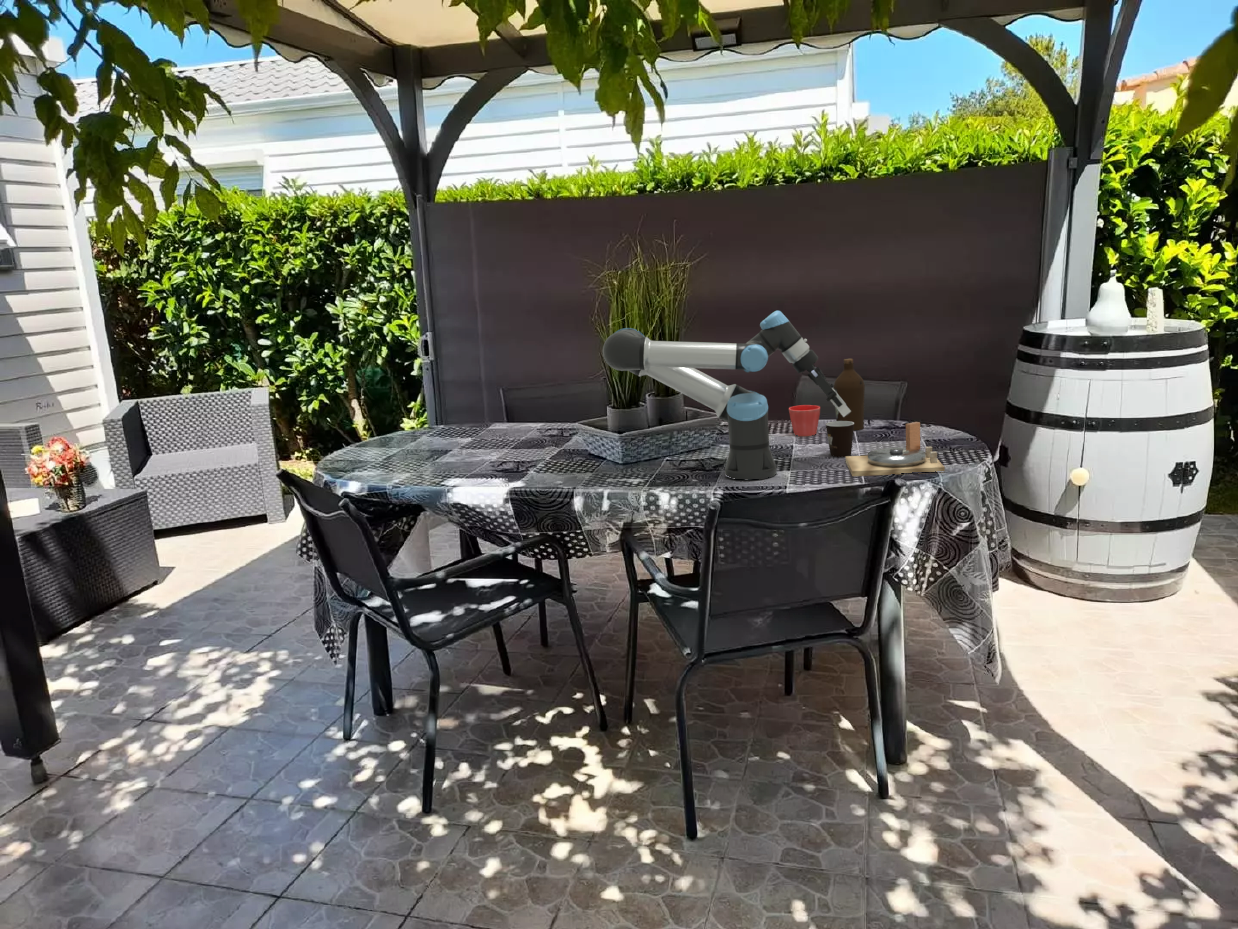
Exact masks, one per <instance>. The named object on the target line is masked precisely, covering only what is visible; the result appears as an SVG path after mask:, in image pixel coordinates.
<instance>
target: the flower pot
mask: <svg viewBox="0 0 1238 929" xmlns="http://www.w3.org/2000/svg"><path fill="white" fill-rule="evenodd" d="M788 412H789V418H790V423H791V427H792V431H793V434H795V435H794V436H796V435H798V436H797V437H812V435H813V436H816V435H817V433H818V426H819V420H820V415H821V406H820V405H815V404H814V405H811V404H801V405H794V406H789V407H788ZM815 434H816V435H815Z"/></svg>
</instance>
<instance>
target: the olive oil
mask: <svg viewBox="0 0 1238 929" xmlns="http://www.w3.org/2000/svg"><path fill="white" fill-rule="evenodd" d="M854 364H855V363H854V359H853V358H844V359H843V370H842V372H840V374H839V375H838V376H837V378H836V379H835V380H834V383H833V385H834V387H833V389H834V390H835V391H836V392H837V394H838V395H839V396H840V397H841V399H842V400H843V401H844V402H845V403H846V406H847V407H848V408H849V409H850V411H851V412H850V413H848V414H847V415H846V416H844V417H843V416H842V415H841V413H840V412H839V411H838V410H837V408H836V407H835V406H834V409H835V410H834V411H835V421H850V422H854V431H853V432H856V431H855V430H857V431H861V430H863V429H864V428H865V425H864V424H865V422H864V421H865V418H864V417H865V393H866V392H865V388H866V387H865V386H866V385H865V382H864V379H863V378H862V376H861V375H860V374H859V373H858V372H856V370H855V369H854V368H855V367H854Z"/></svg>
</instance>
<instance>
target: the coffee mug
mask: <svg viewBox="0 0 1238 929" xmlns="http://www.w3.org/2000/svg"><path fill="white" fill-rule="evenodd" d="M825 429H826V434H827V442H828V448H829V455H830V457H832V458H845V456H852V453H853V451H852V450H853V439H854V432H855V431H854V422H850V421H836V420H835V421H830V422H827V423H825Z"/></svg>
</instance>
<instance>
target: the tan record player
mask: <svg viewBox="0 0 1238 929" xmlns="http://www.w3.org/2000/svg"><path fill="white" fill-rule="evenodd" d="M925 453H926V460H925V462H924V463H921V464H918V465H913V466H905V467H885V466H877V465H873V464H870V463H869V462H868V454H867V455H851V456H845V457H844V458H845V464H846V466H847V467H848V470H849V472H850V475H851V476H852V477H866V476H867V477H870V476H891V474H895V475H902V474H901V473H912V472H935V471H936V472H937V471H945V470H946V468H945V466H944V465H943V463H941V461H940V460H939V459H938V451H933V446H925Z"/></svg>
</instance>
